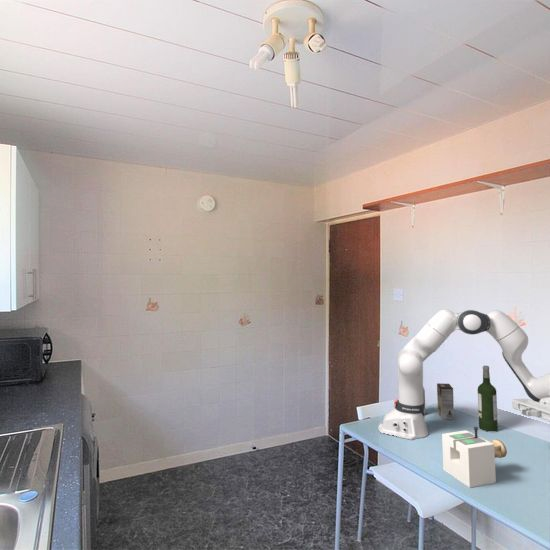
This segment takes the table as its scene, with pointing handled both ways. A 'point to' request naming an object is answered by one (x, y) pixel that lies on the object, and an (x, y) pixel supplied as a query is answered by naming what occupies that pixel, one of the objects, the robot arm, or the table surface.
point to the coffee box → (445, 401)
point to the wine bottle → (487, 403)
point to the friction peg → (496, 446)
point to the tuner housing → (469, 458)
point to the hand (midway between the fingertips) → (524, 412)
